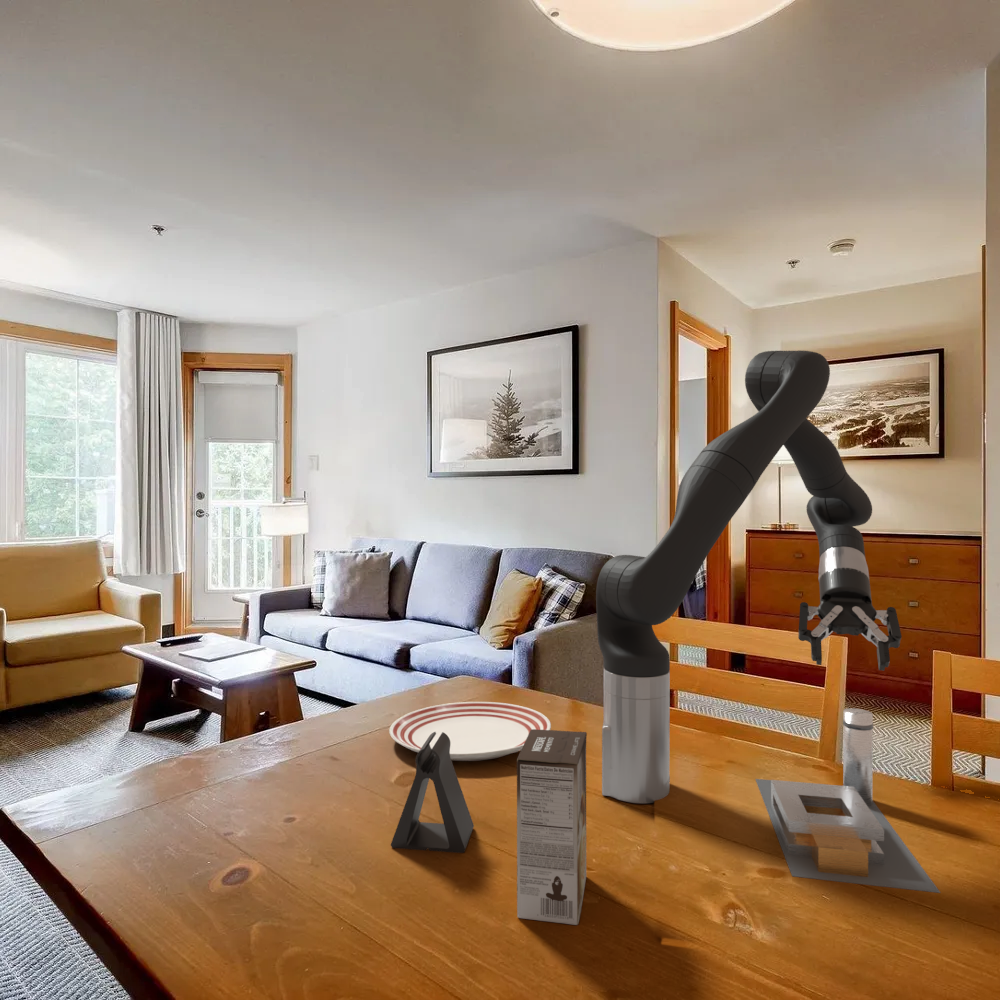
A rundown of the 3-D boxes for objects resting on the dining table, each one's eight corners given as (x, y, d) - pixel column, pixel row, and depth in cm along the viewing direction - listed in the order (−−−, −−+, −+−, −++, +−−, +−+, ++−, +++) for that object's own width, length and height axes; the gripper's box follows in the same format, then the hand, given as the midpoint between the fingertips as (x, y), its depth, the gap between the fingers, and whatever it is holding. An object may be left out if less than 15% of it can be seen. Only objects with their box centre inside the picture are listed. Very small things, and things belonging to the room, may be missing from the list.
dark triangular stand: (474, 828, 86) (474, 733, 86) (464, 853, 80) (464, 751, 80) (404, 823, 87) (404, 730, 87) (390, 847, 81) (390, 747, 81)
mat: (792, 880, 74) (792, 875, 74) (755, 782, 100) (755, 778, 100) (940, 897, 71) (940, 892, 71) (863, 791, 96) (863, 788, 96)
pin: (847, 805, 91) (847, 715, 91) (839, 793, 95) (839, 707, 94) (876, 807, 90) (876, 717, 90) (868, 795, 94) (868, 709, 94)
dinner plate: (354, 749, 113) (354, 729, 113) (457, 707, 135) (457, 690, 135) (489, 790, 97) (489, 767, 97) (579, 735, 120) (579, 716, 120)
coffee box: (529, 869, 76) (530, 726, 76) (587, 876, 75) (587, 730, 75) (515, 919, 67) (515, 757, 67) (580, 928, 66) (580, 762, 66)
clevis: (794, 869, 75) (794, 833, 75) (771, 810, 90) (771, 779, 90) (893, 879, 73) (893, 843, 73) (853, 817, 87) (853, 786, 87)
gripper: (797, 564, 114) (799, 647, 103) (895, 567, 108) (907, 655, 98) (796, 592, 119) (798, 673, 108) (890, 596, 113) (901, 682, 103)
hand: (850, 664), depth 103 cm, fingers open, 8 cm apart
